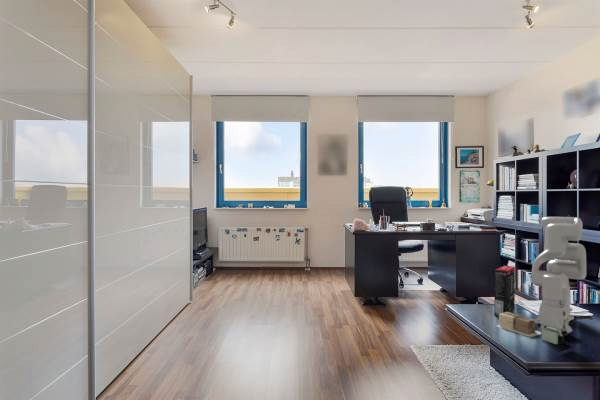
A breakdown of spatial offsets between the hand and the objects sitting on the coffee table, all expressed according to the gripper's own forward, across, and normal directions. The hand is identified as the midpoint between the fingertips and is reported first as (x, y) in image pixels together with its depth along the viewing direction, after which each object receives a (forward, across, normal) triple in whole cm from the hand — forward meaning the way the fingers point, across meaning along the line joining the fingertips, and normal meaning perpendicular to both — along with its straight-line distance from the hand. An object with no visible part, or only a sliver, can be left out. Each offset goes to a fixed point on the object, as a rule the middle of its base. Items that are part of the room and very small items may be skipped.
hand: (552, 341), depth 159 cm
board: (+1, +16, -1) cm, 16 cm away
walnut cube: (0, +12, -1) cm, 13 cm away
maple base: (0, +20, -1) cm, 20 cm away
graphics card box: (+1, +34, -19) cm, 39 cm away
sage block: (+1, 0, 0) cm, 1 cm away
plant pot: (+1, +4, -13) cm, 13 cm away
